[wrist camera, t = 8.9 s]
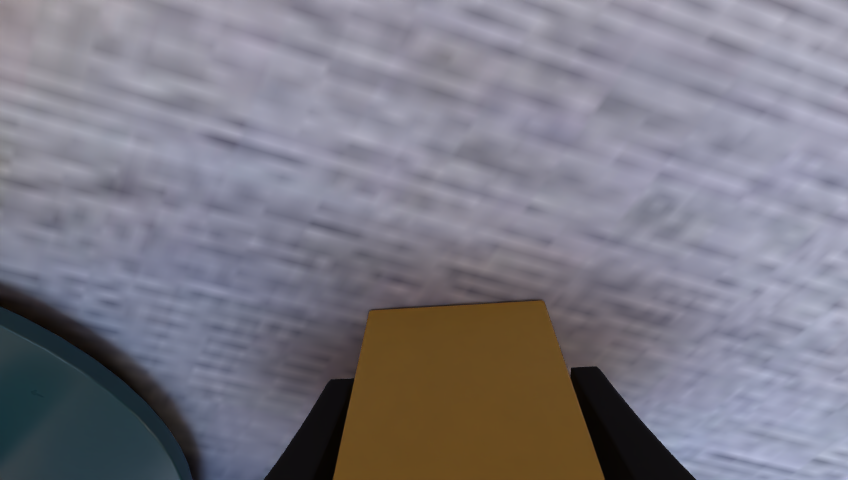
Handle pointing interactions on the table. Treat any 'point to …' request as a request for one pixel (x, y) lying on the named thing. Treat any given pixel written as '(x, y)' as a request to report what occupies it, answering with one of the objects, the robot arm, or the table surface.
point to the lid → (74, 415)
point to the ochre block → (464, 398)
